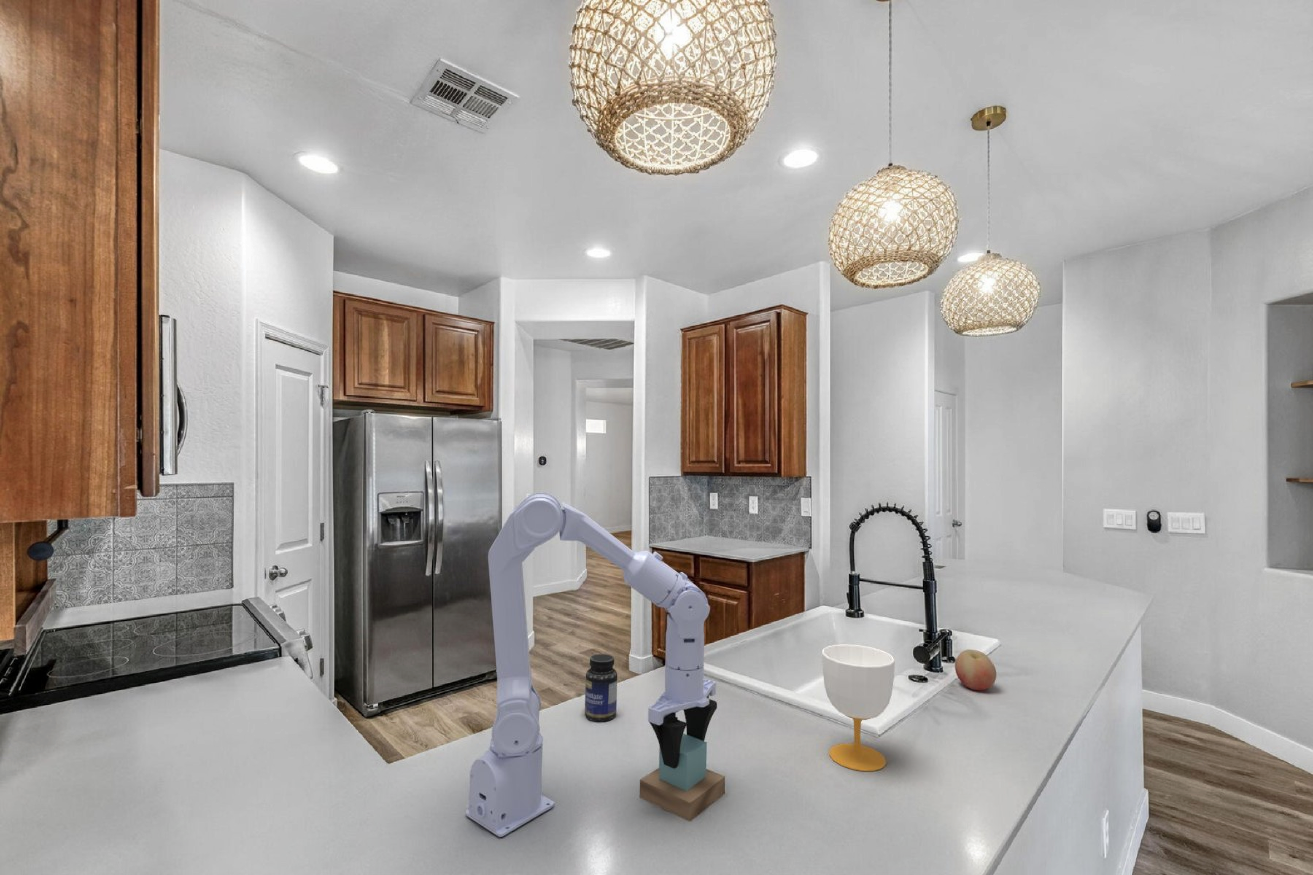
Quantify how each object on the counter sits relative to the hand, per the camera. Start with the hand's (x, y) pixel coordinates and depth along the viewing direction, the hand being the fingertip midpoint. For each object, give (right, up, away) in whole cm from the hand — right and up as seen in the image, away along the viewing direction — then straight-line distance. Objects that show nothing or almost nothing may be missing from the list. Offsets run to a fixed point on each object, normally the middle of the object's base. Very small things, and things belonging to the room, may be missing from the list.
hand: (683, 757), depth 87 cm
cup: (+30, -7, +12) cm, 33 cm away
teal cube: (0, -3, 0) cm, 3 cm away
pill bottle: (-15, -7, +26) cm, 31 cm away
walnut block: (0, -6, 0) cm, 6 cm away
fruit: (+67, -9, +44) cm, 81 cm away
